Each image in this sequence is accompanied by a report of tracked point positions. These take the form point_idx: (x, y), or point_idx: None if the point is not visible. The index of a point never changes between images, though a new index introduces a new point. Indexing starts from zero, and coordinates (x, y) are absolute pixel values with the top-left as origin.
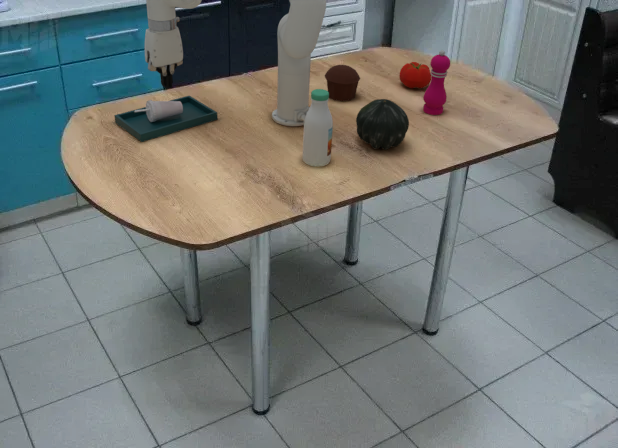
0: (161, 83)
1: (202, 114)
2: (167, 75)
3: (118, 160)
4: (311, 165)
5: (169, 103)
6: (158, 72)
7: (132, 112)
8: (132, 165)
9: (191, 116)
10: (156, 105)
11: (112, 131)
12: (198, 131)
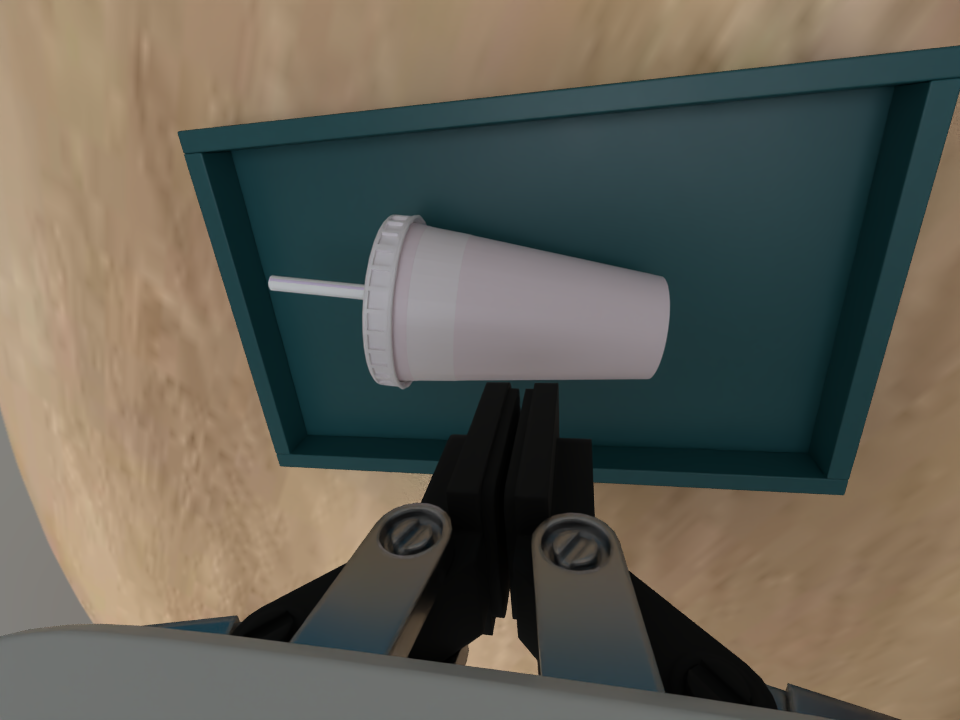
0: (451, 443)
1: (783, 373)
2: (486, 624)
3: (185, 510)
4: None
5: (541, 366)
6: (383, 516)
7: (314, 140)
8: (228, 564)
9: (695, 357)
10: (415, 372)
11: (189, 247)
12: (610, 506)
